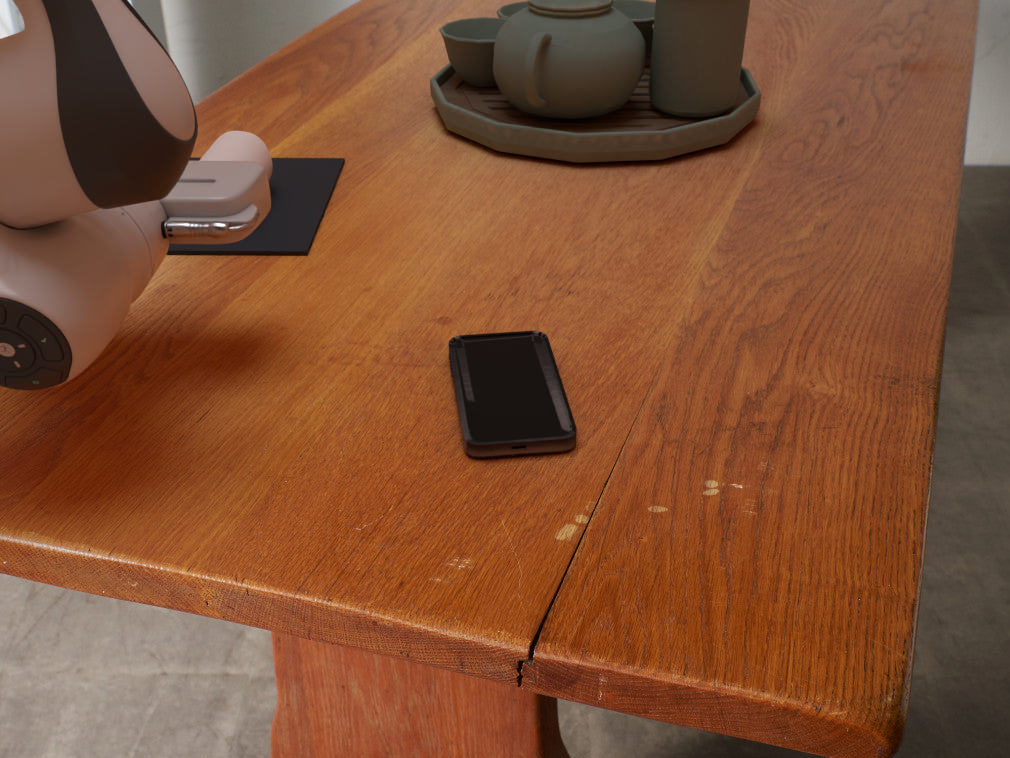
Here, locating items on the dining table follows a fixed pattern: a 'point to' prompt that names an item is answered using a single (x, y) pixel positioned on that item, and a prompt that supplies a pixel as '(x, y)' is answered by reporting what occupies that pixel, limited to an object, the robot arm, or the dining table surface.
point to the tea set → (599, 78)
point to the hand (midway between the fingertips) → (156, 159)
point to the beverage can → (240, 149)
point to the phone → (510, 395)
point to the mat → (284, 210)
